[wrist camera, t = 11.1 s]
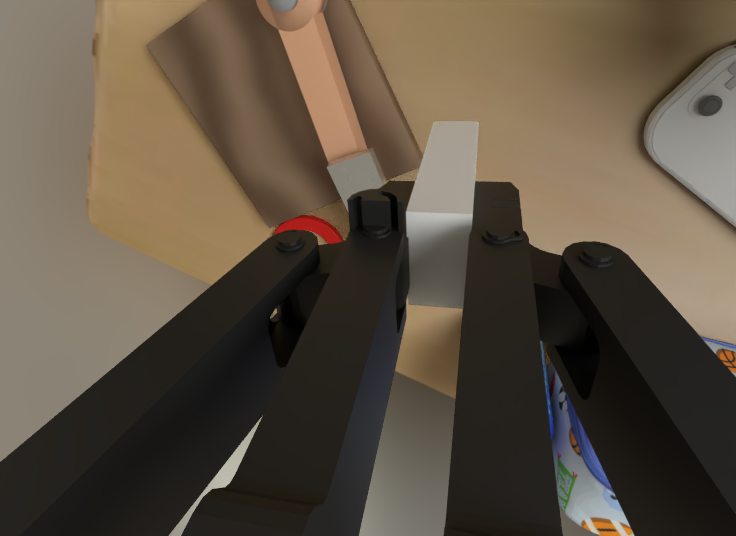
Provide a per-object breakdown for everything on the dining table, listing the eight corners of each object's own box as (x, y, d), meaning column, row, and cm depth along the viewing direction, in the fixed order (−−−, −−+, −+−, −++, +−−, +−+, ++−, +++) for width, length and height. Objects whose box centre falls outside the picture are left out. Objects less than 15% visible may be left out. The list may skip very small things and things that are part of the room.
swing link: (257, -32, 36) (237, -29, 34) (312, -56, 35) (297, -55, 32) (338, 184, 46) (328, 200, 43) (385, 173, 44) (378, 189, 41)
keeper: (345, 140, 45) (326, 166, 40) (383, 126, 43) (369, 152, 38) (384, 228, 50) (371, 262, 44) (420, 218, 48) (411, 253, 43)
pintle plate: (316, -73, 36) (308, -73, 34) (424, 159, 44) (422, 167, 43) (155, 42, 43) (143, 46, 42) (274, 221, 52) (267, 230, 50)
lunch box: (841, 352, 47) (1052, 604, 29) (777, 417, 53) (919, 657, 35) (558, 294, 50) (595, 491, 32) (528, 362, 56) (545, 558, 38)
